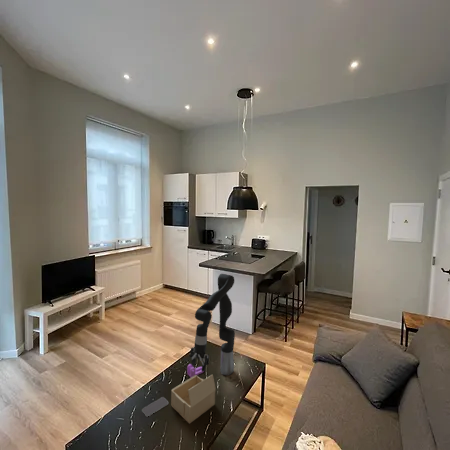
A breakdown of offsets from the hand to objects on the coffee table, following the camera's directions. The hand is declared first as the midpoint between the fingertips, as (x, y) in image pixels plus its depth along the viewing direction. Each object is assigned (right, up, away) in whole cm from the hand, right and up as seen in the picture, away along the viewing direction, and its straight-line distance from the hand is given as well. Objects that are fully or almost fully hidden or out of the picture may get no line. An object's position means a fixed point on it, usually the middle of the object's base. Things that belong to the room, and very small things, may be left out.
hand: (198, 367), depth 158 cm
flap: (+3, -9, -7) cm, 12 cm away
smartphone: (-26, -23, -3) cm, 35 cm away
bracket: (-4, -21, +30) cm, 37 cm away
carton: (-3, -23, -1) cm, 23 cm away
